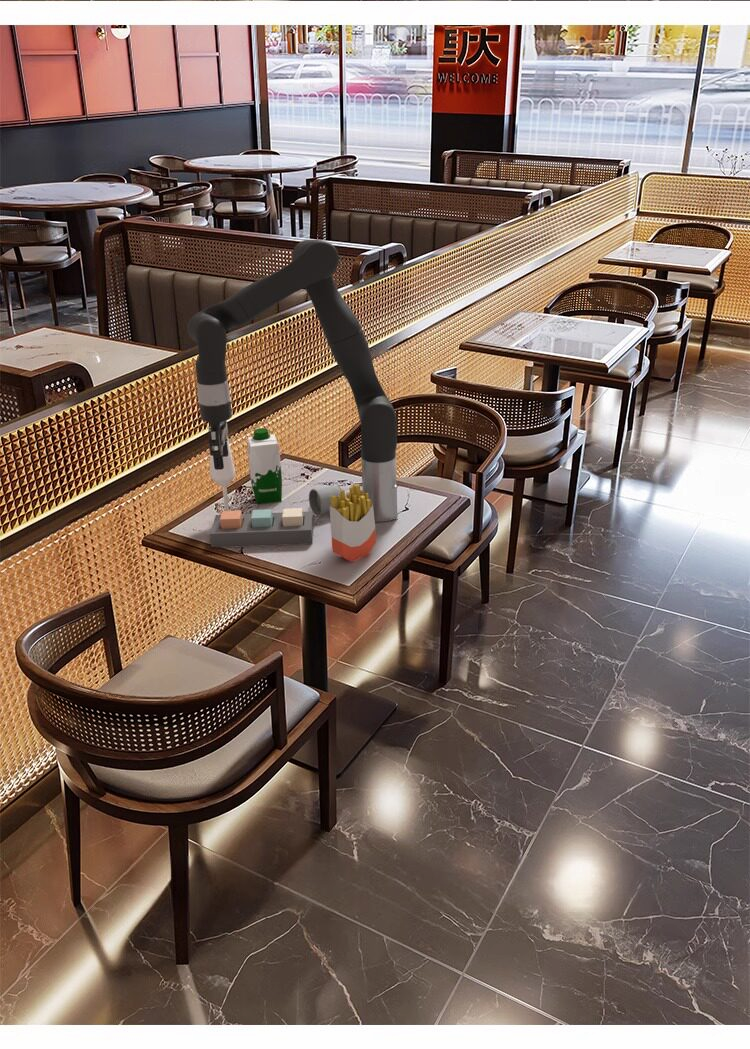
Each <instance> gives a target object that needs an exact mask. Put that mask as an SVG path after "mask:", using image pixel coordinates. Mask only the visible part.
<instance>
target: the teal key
mask: <svg viewBox="0 0 750 1049" xmlns="http://www.w3.org/2000/svg"><path fill="white" fill-rule="evenodd" d="M273 513H274V512H273V509H272V508H271V509H266V508H265V509H253V510H252V513H251V514H252V517H251V522H252V528H254V527H272V525H273Z"/></svg>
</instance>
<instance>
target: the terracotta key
mask: <svg viewBox="0 0 750 1049" xmlns="http://www.w3.org/2000/svg"><path fill="white" fill-rule="evenodd" d="M221 514H222V515H221V518H220V523H221V529H228V528H242V524H243V518H242V514H243V511H242V509H241V510H229V511H225V510H222V512H221Z"/></svg>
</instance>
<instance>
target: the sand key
mask: <svg viewBox="0 0 750 1049" xmlns="http://www.w3.org/2000/svg"><path fill="white" fill-rule="evenodd" d="M282 512H283V515H282V521H283V526H303V512H304V510H303V507H297V508H293V507H292V508H283V511H282Z"/></svg>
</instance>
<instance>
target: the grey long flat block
mask: <svg viewBox="0 0 750 1049" xmlns="http://www.w3.org/2000/svg"><path fill="white" fill-rule="evenodd" d="M272 513H273V525H272V527H254V528H252V522H251V517H252V513H242V518H243V524H242V528H228V529H221V523H220V518H221V515H220V514H215V516H214V520H213V523H212V527H211V529H210V530H209V531H210V532H209V539H210V545H211V546H210V547H216V548H235V547H236V548H237V547H261V546H263V547H265V546H266V547H267V546H268V547H269V546H291V545H313V541H314V531H315V529H314V528H315V519H314V513H313V511H312V510H311V511H309V510H308V511H303V526H283V521H282V515H283V511H282V512H272ZM313 530H314V531H313Z"/></svg>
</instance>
